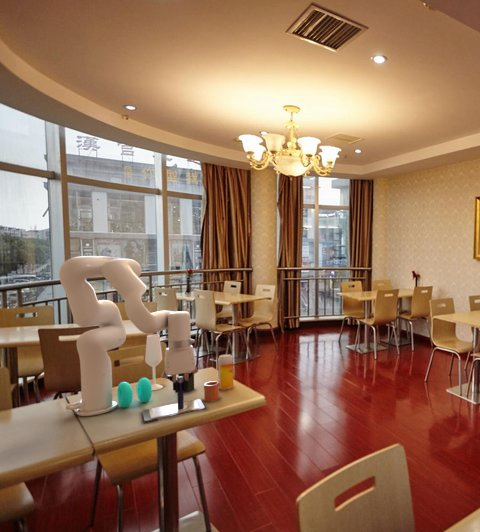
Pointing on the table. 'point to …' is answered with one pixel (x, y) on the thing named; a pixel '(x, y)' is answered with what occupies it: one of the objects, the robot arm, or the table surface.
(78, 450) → the table surface
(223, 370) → the beer glass
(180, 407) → the marker
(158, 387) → the champagne flute
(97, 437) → the table surface
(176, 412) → the tablet
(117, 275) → the robot arm
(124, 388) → the pair of turquoise ovals
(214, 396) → the pen cup
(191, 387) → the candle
